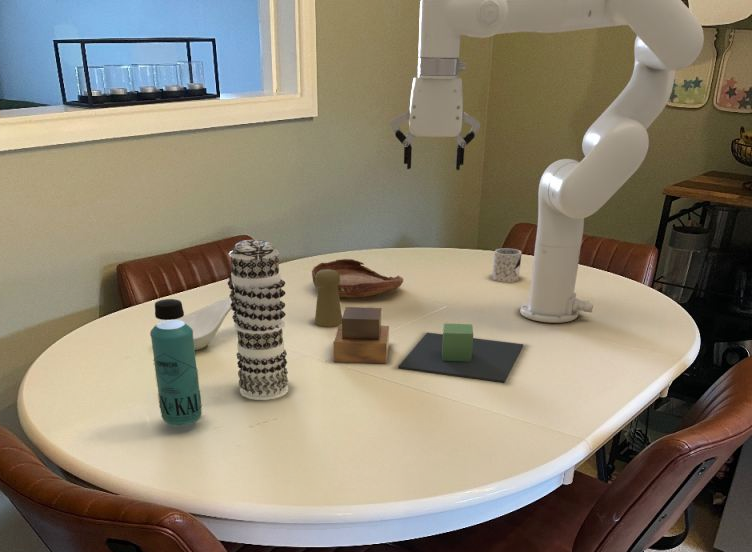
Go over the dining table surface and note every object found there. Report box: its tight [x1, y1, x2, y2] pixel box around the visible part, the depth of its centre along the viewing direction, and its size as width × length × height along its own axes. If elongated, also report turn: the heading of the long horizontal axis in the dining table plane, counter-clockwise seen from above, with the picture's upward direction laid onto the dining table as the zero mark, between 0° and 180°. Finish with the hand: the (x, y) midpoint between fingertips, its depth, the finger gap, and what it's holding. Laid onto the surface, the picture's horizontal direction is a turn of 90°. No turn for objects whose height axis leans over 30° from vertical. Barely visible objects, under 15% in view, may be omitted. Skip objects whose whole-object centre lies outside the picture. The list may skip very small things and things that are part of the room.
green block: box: [442, 322, 474, 362], centre depth 147 cm, size 6×6×6 cm
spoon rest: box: [174, 297, 236, 351], centre depth 155 cm, size 24×12×7 cm, turn 135°
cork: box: [314, 269, 343, 328], centre depth 163 cm, size 6×6×11 cm
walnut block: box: [342, 306, 383, 340], centre depth 147 cm, size 7×7×4 cm
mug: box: [492, 247, 523, 283], centre depth 195 cm, size 10×7×7 cm
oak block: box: [333, 324, 390, 364], centre depth 149 cm, size 10×10×4 cm
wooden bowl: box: [311, 258, 404, 298], centre depth 184 cm, size 22×20×5 cm
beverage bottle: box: [149, 298, 203, 426], centre depth 118 cm, size 6×7×20 cm
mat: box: [397, 332, 524, 384], centre depth 149 cm, size 20×20×1 cm
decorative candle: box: [227, 239, 289, 401], centre depth 128 cm, size 9×9×25 cm
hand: (433, 168), depth 153 cm, fingers open, 9 cm apart
